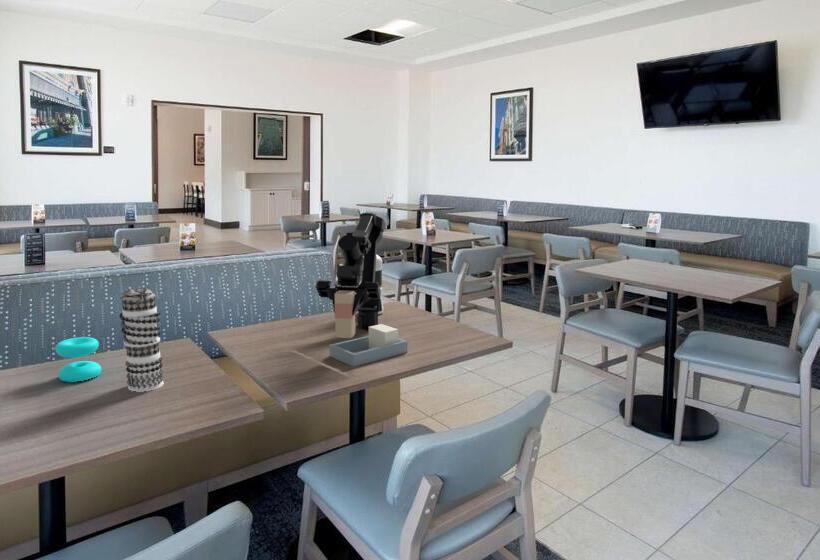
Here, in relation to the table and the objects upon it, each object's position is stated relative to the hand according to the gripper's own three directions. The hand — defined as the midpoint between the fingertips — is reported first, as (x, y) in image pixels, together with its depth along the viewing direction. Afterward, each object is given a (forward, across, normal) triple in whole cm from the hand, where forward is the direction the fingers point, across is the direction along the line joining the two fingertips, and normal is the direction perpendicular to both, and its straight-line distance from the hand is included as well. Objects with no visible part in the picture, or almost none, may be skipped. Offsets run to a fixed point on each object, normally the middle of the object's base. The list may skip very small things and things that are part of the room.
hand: (344, 314), depth 168 cm
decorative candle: (+30, -45, -11) cm, 55 cm away
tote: (+7, +7, +12) cm, 15 cm away
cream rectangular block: (+4, +10, +14) cm, 18 cm away
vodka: (-29, -3, +49) cm, 57 cm away
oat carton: (+4, 0, +6) cm, 7 cm away
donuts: (+28, -66, -8) cm, 72 cm away
